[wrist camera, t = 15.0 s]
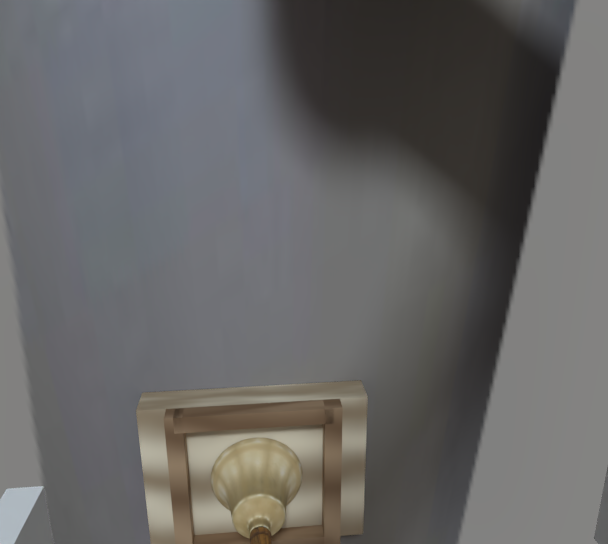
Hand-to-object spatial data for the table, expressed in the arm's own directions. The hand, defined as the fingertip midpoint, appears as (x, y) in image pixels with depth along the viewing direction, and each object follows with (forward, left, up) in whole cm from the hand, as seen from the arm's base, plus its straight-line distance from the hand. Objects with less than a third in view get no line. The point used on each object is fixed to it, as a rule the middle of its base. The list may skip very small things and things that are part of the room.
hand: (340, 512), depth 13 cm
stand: (+24, -2, -35) cm, 42 cm away
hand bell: (+24, -2, -32) cm, 40 cm away
